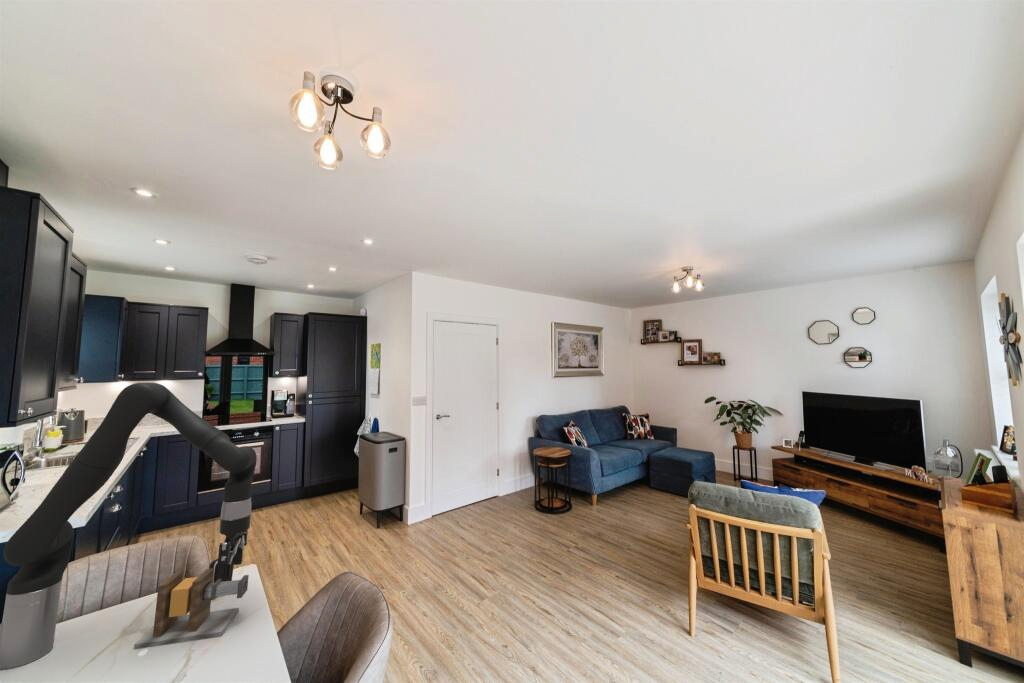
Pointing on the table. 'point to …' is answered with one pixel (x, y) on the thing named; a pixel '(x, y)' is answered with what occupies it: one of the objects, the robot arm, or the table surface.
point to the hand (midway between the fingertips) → (231, 570)
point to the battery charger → (218, 571)
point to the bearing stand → (186, 626)
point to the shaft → (224, 588)
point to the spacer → (181, 598)
